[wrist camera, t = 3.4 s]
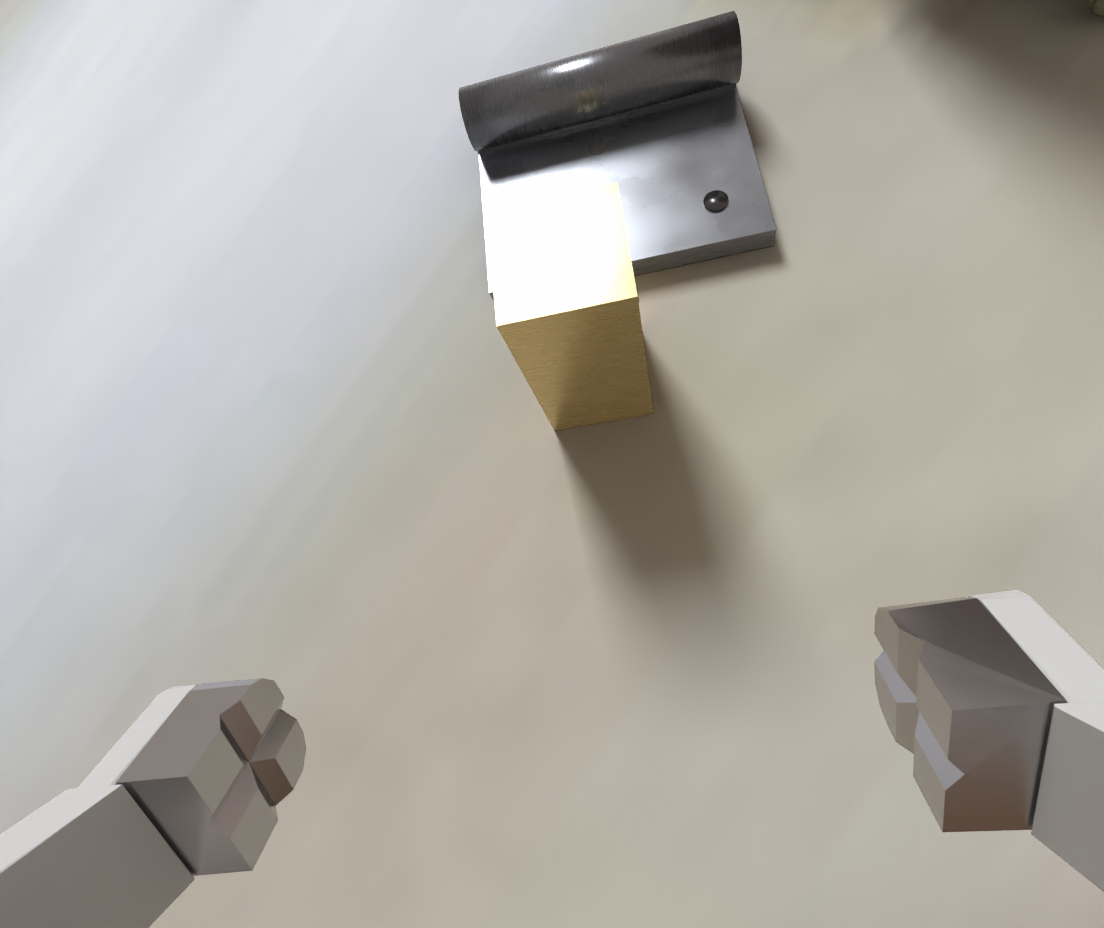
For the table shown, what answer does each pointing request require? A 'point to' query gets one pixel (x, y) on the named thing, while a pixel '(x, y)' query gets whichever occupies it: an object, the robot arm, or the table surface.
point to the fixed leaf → (631, 142)
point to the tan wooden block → (572, 306)
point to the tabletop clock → (1097, 6)
